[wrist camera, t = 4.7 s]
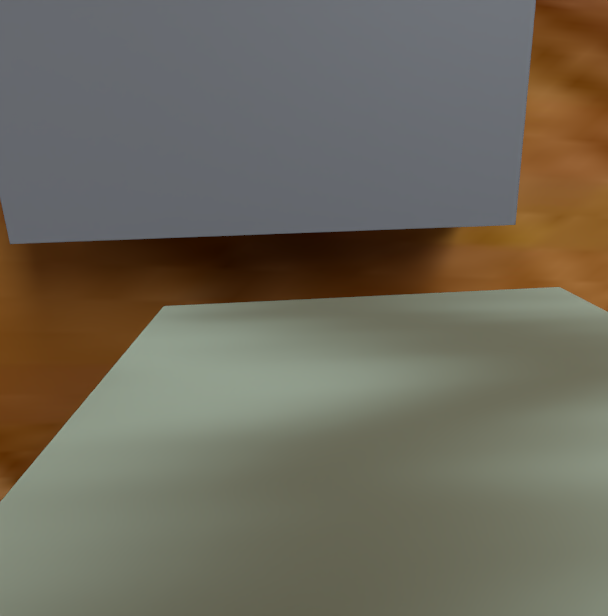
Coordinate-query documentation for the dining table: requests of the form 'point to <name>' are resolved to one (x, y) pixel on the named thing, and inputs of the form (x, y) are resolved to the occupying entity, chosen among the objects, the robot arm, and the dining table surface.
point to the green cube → (329, 465)
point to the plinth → (259, 116)
